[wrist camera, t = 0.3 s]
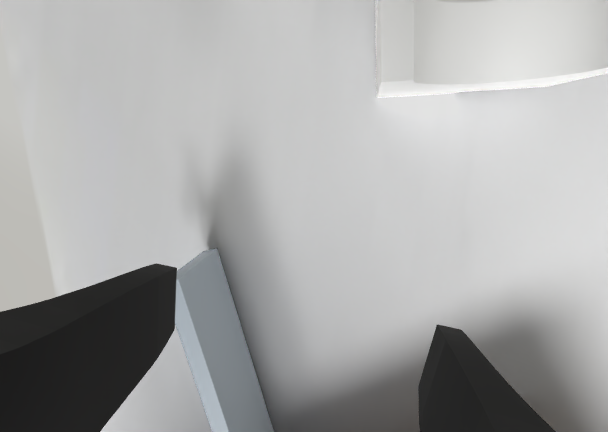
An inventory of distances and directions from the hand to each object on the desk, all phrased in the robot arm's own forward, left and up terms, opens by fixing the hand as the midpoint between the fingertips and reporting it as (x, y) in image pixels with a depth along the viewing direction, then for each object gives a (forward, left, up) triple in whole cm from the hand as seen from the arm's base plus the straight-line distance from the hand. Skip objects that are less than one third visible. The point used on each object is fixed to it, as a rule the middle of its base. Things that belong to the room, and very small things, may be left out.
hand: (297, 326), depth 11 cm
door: (-8, -5, -10) cm, 14 cm away
